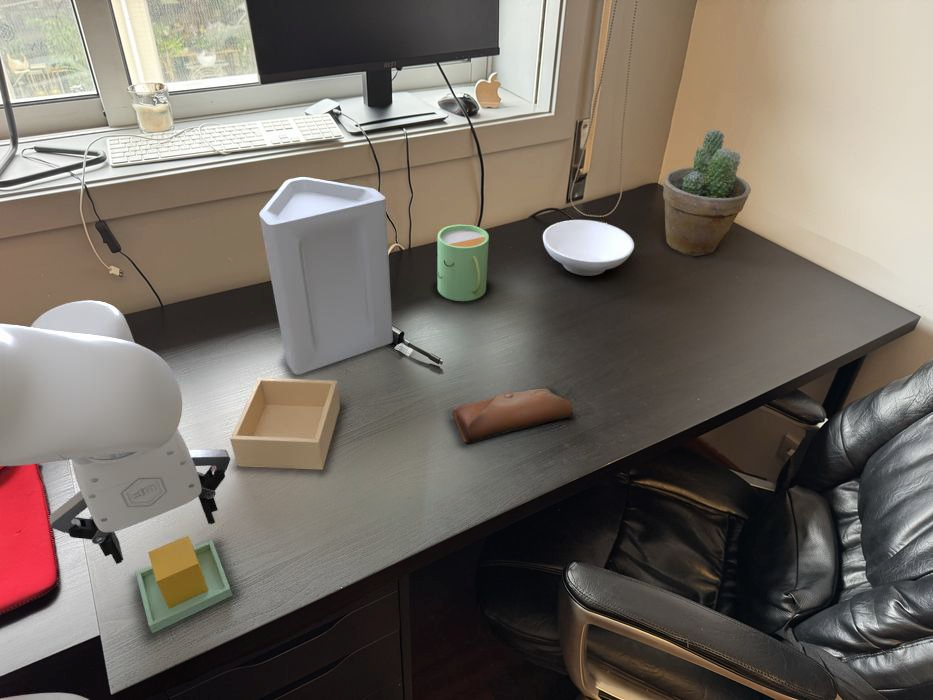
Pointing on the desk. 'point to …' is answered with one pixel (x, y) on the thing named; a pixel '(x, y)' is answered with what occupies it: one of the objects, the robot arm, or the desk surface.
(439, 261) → the mug
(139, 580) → the green tray
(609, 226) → the bowl
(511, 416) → the sunglasses case
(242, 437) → the sand bin
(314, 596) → the desk surface
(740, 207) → the potted plant
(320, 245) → the white triangular prism tub
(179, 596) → the mustard box
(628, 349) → the desk surface
